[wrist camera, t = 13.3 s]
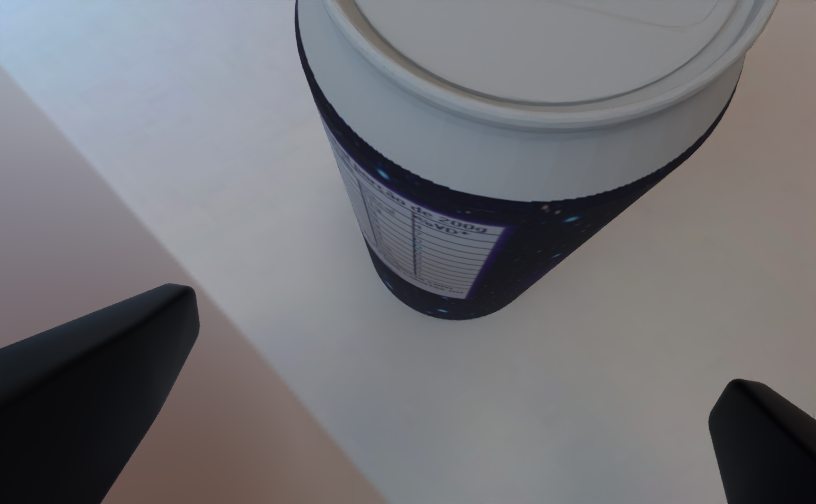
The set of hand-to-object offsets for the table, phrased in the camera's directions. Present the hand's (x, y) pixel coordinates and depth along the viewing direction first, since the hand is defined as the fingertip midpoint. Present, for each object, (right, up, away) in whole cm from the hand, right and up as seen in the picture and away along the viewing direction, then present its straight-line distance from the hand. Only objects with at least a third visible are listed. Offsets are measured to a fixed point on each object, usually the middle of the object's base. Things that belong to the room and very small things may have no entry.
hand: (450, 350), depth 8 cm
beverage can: (+1, +2, +9) cm, 9 cm away
